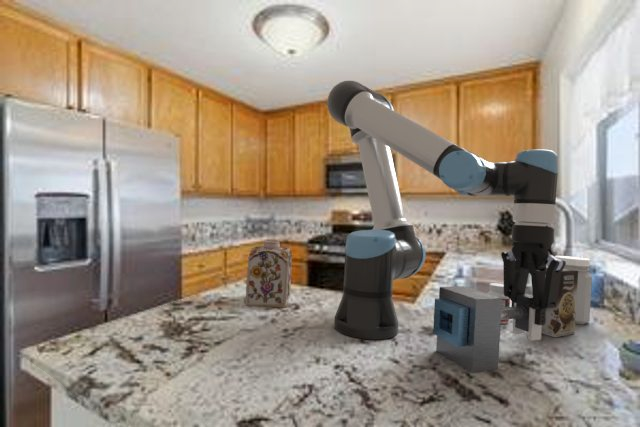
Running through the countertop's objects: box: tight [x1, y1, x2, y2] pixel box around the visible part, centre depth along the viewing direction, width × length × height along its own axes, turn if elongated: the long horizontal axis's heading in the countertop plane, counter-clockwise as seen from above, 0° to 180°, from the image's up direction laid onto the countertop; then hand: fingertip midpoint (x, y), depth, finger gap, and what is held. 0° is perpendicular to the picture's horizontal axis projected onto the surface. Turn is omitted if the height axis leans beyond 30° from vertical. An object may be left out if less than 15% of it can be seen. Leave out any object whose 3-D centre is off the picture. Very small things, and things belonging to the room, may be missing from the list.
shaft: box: [452, 293, 534, 333], centre depth 71 cm, size 20×3×7 cm, turn 109°
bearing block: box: [435, 285, 502, 373], centre depth 68 cm, size 6×10×13 cm, turn 19°
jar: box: [554, 255, 593, 325], centre depth 101 cm, size 10×10×18 cm
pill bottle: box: [486, 282, 511, 325], centre depth 96 cm, size 6×6×10 cm
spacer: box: [432, 297, 468, 347], centre depth 67 cm, size 2×7×7 cm, turn 20°
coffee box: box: [531, 266, 578, 338], centre depth 89 cm, size 9×6×16 cm
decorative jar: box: [245, 240, 293, 308], centre depth 103 cm, size 12×12×18 cm
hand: (526, 335), depth 74 cm, fingers closed on shaft, 3 cm apart
